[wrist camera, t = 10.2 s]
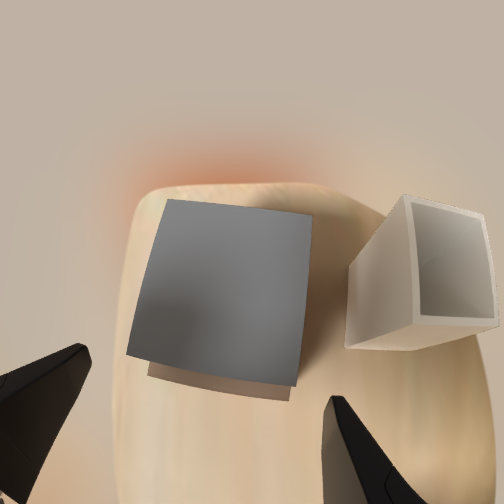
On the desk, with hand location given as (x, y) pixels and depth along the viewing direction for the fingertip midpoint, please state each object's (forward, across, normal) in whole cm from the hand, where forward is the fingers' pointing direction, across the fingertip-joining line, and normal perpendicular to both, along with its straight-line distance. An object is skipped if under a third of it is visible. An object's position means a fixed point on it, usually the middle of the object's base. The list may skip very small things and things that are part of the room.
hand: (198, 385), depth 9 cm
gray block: (+7, 0, +1) cm, 7 cm away
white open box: (+12, -11, +3) cm, 16 cm away
